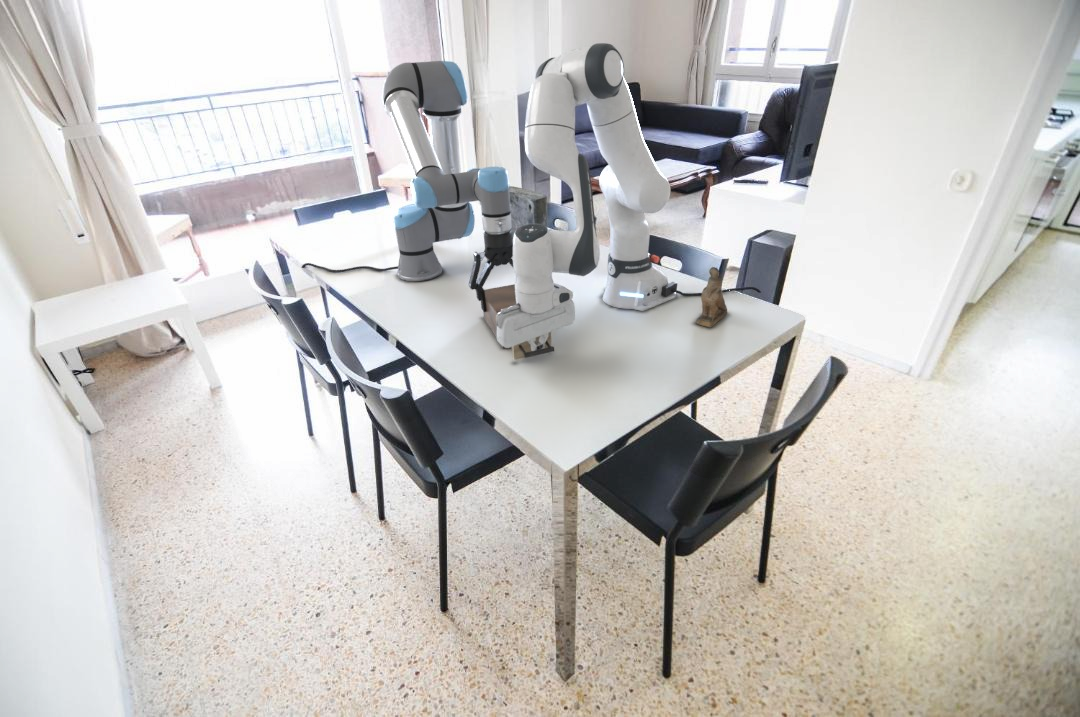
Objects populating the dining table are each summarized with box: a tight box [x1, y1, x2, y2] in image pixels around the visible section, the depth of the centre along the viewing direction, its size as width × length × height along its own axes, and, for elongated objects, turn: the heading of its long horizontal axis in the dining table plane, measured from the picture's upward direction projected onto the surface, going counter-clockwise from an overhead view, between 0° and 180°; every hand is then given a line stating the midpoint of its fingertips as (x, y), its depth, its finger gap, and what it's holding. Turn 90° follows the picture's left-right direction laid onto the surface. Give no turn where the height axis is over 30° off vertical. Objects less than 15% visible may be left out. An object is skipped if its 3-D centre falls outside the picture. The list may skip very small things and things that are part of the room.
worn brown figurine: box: [695, 266, 728, 328], centre depth 135 cm, size 12×6×18 cm, turn 136°
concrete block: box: [509, 185, 549, 239], centre depth 196 cm, size 27×9×20 cm, turn 36°
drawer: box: [510, 332, 556, 361], centre depth 127 cm, size 23×10×7 cm, turn 20°
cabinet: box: [482, 283, 516, 349], centre depth 136 cm, size 19×11×9 cm, turn 20°
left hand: (504, 306), depth 142 cm, fingers closed on cabinet, 11 cm apart
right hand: (538, 350), depth 120 cm, fingers closed
